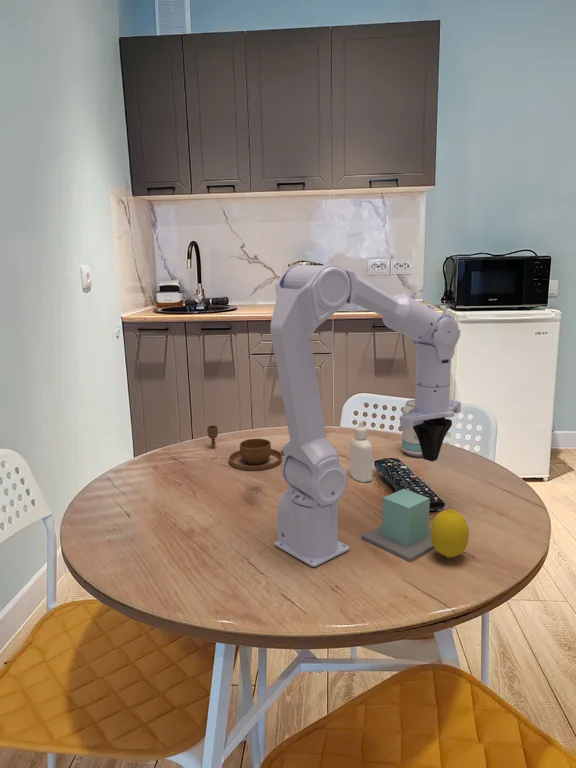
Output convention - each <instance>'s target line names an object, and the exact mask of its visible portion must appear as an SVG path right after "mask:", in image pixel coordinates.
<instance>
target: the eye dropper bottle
mask: <svg viewBox="0 0 576 768" xmlns="http://www.w3.org/2000/svg"><path fill="white" fill-rule="evenodd" d="M349 445H350V446H349V449H350V450H349V457H350V459H349V474H350V476H351V478H352V479H354V480H355V481H357V482H361V483H367V482H371V481H372V480H373V447H372V443H371V441H369V439H368V428H367V427H365V426H364V422H363V421H359V422H358V426H357V427H355V428H354V438H351V440H350V444H349Z"/></svg>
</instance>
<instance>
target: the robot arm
mask: <svg viewBox="0 0 576 768" xmlns="http://www.w3.org/2000/svg"><path fill="white" fill-rule="evenodd" d="M274 286H275V287H274V288H275V293H276V299H275V304H274V308H273V313H272V315H271V316H272V317H271V320H270V324H269V325H270V327H269V329H270V336H271V337H270V338H271V342H272V347H273V353H274V359H275V364H276V370H277V374H278V380H279V386H280V391H281V392H280V393H281V396H282V397H281V398H282V402H283V407H284V413H285V418H286V419H285V420H286V425H287V430H288V435H289V441H288V442H287V443H286V444H285V445H284V446H283V447H282V450H283V451H284V456H283V460H282V461H283V462H282V467H281V475H282V478H283V479H284V481H285V483H286V484H288V485H289V489H287V490H285V491H284V492H283V493H282V495H281V496H280V498H279V501H278V504H277V531H278V534H277V535H278V540H276V541H274V543H273V544H274V546H275V547H278V548H279V549H280V550H283V551H284V552H286V553H288V554H290V555H291V556H293V557H295V558H297V559H299V560H300V561H302V562H304V563H305V564H306V565H308V566H311V567H313V568H315V567H318V566H319V565H321V564H324V563H326V562H327V561H329V560H331V559H334V558H336V557H338V556H339V555H341V554H344V553H346V552H348V551H349V550H350V549H351V547H350V546H349V545H348V544H346V543H344V542H341V541H340V540H338V539H339V537H338V531H339V530H338V524H339V521H338V519H339V518H338V513H339V511H338V503H340V499H341V498H342V496H344V493H345V491H346V488H347V485H348V475H347V472H346V470H345V469H344V468H343V466H342V465H341V462H340V459H339V454H338V452H337V451H336V449H335V448H334V446H333V445H332V444H331V442H330V440H329V438H328V437H327V432H326V426H325V419H324V412H323V407H322V401H321V396H320V389H319V382H318V381H319V380H318V375H317V370H316V363H315V357H314V352H313V351H314V350H313V346H312V335H313V334H314V332H315V331H316V330H317V328H318V327H319V326H320V325H322V324H323V323H325V322H326V321H327V320H328V319H329V318H330V317H332V316H333V315H334V314H335V313H337V312H338V311H339V310H341V308H343V307H344V306H345V305H346V304H353V305H355V306H358V307H361V308H362V309H366V310H368V311H369V312H370V311H371V312H373V313H375V314H377V315H380V316H381V318H382V322H383V324H384V325H385V327H386V328H388V329H390V330H393V331H395V332H397V333H399V334H401V335H404V336H405V337H407V338H409V339H410V342H411V343H412V344H413V345H416V347H415V352H416V353H415V386H414V389H415V391H414V400H415V407H414V408H412V409H411V410H410V411H409V412H407V413H406V414H404V415H403V414H402V415H400V416H399V417H400V418H399V420H400V421H399V427H400V428H406V429H412V428H413V429H414V431H415V433H416V435H417V437H418V440H419V443H420V447H421V451H422V455H423V457H422V459H423V460H425V461H430V462H435V461H437V460H438V458H439V456H440V452H441V448H442V446H443V442H444V440H445V438H446V435H447V434H448V432H449V430H450V428H451V427H452V426H453V420H452V419H450V418H452V417H454V416H455V414H459V413H461V407H462V406H461V405H462V402H461V401H458V400H455V399H450V393H451V392H450V391H451V371H452V368H451V367H452V359H453V357H454V355H455V348H456V344H457V343H458V342H459V339H460V336H461V331H462V330H461V329H460V328H459V323H458V322H457V320H456V319H455V318H454V317H453V316H452V315H451V314H447V313H439V312H437V311H436V310H435V308H436V307H435V306H434V305H432V304H424V303H422V302H420V301H418V300H416V299H417V296H416V294H413V293H412V292H411V293H410V292H405V293H397V294H395V295H393V296H392V295H390V294H389V293H387V292H385V291H384V290H382V289H380V288H379V287H377V286H375V285H374V284H372V283H371V282H368V281H367V280H366V279H364V278H362V277H361V276H359V275H358V274H356V272H354V271H352V270H349V269H344V268H343V267H341V266H339V265H337V264H326V265H325V264H324V265H322V264H321V265H320V264H319V265H318V264H317V265H314V264H313V265H312V264H311V265H310V264H309V265H308V264H307V265H306V264H303V263H297V264H292V265H290V266H289V267H287V268H286V269H285V270H284V272H283V273H282V274H281V276H280V278H279V279H278V280H277V281H276V283H275V284H274Z"/></svg>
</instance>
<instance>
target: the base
mask: <svg viewBox="0 0 576 768" xmlns="http://www.w3.org/2000/svg"><path fill="white" fill-rule="evenodd" d="M382 530H383V524H381V525H379V526H377V527H375V528H374V529H371V530H369V531H366V532H364V533H362V534H361V535H360V536H361V537H360V539H361V540H363V541H366V542H368V543H370V544H372V545H374V546H376V547H378V548H380V549H382V550H385V551H387V552H389V553H391V554H393V555H395V556H397V557H399V558H401V559H403V560H405V561H408V562H410V563H412V562H413V561H415V560H416V559H418V557H419V558H420V557H422V556H424V555H425V554H427V553H429V552H431V551H432V549H433V550H434V549H435V548H434V546H433V544H432V541H431V527H429V535H428V537H426V538H424V539H422V540H421V541H419V542H417V543H415V544H413V545H411V546H409V547H406V546H404V545H402V544H400V543H398V542H395V541H393V540H391V539H389V538H387V537H385V536H382ZM411 561H412V562H411Z"/></svg>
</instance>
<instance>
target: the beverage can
mask: <svg viewBox="0 0 576 768" xmlns="http://www.w3.org/2000/svg"><path fill="white" fill-rule="evenodd" d="M414 407H415V399H409V400H407V401H406V402H405V404H404V406H403V408H402V415H404V414H406V413H407V412H409V411H410V410H411V409H412V408H414ZM401 428H402V427H401ZM401 430H402V431H401V435H402V436H401V450H402V451H403V452H405V453H406V455H408V456H410V457H413V458H414V457H415V458H416V457H417V458H421V457H422V458H423V455H422V451H421V447H420V443H419V440H418V437H417V435H416V433H415V431H414V429H413V428H412V429H406V428H402V429H401Z"/></svg>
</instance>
